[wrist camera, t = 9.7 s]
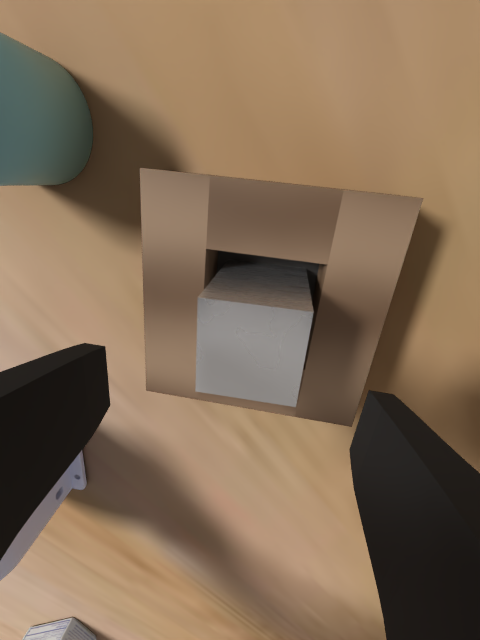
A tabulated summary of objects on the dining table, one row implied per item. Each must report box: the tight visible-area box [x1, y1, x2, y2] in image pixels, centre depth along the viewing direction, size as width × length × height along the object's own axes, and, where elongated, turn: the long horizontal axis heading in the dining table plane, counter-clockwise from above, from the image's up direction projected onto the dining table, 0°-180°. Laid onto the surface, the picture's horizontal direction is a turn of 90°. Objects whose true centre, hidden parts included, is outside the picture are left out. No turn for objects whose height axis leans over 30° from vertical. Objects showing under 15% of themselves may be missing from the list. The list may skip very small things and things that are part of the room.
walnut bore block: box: [140, 168, 423, 427], centre depth 16 cm, size 11×11×3 cm
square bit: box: [195, 259, 314, 407], centre depth 14 cm, size 4×4×6 cm
